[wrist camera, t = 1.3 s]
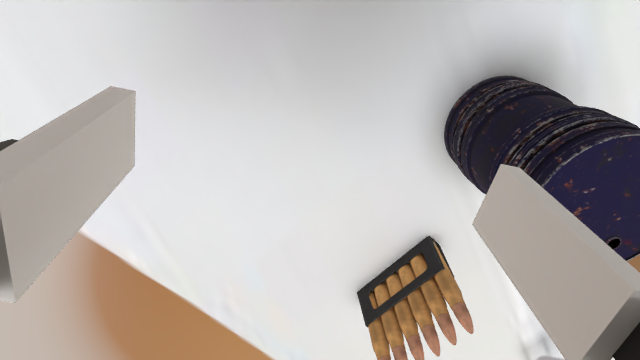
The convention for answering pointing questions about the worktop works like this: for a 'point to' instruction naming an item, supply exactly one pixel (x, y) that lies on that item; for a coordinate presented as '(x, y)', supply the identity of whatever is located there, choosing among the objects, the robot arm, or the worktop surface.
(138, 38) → the worktop surface
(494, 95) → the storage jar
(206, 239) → the worktop surface
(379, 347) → the ammunition clip
